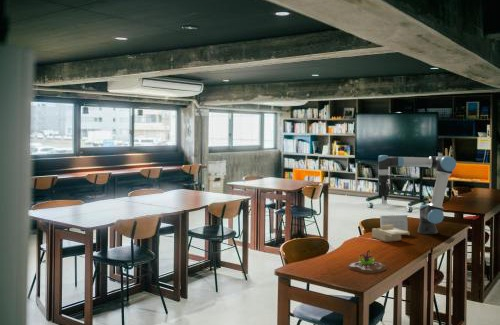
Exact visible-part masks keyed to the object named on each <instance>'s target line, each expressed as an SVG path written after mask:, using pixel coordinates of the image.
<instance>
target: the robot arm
mask: <svg viewBox="0 0 500 325" xmlns="http://www.w3.org/2000/svg"><path fill="white" fill-rule="evenodd" d="M377 157H378V158H377V162H378V163H377V164H378V180H379V182H378V183H377V184H378V187H379V188H378V190H379V194H380V196H382V205H388V201H387V200H388V198H387V197H388V196H389V195H390V187H391V184H390V183H389V178H390V176H389V174H390V172H389V168H392V167H393V168H394V167H398V168H399V167H417V168H418V167H419V168H420V167H421V168H423V167H424V168H429V169H435V170H436V171H435V172H436V174H437V175H436V179H435V183H434V187H433V191H432V196H431V200H430V203H428V204H421V205H420V206H419V225H418V228H417V233H418V234H422V235H436V234H438V229H437V226H436V225H437V224H440V223H441V222H443V220H444V216H445V215H444V207H443V202H444V198H445V194H446V190H447V186H448V182H449V177H450V176H452V174H453V171H454V170H455V169H456V167H457V161H456V159H455V158H454V157H452V156H450V155H438V156H429V157H418V156H416V157H415V156H410V157H409V156H391V155H390V156H389V155H387V154H386V155H385V154H381V155H378V156H377Z"/></svg>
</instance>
